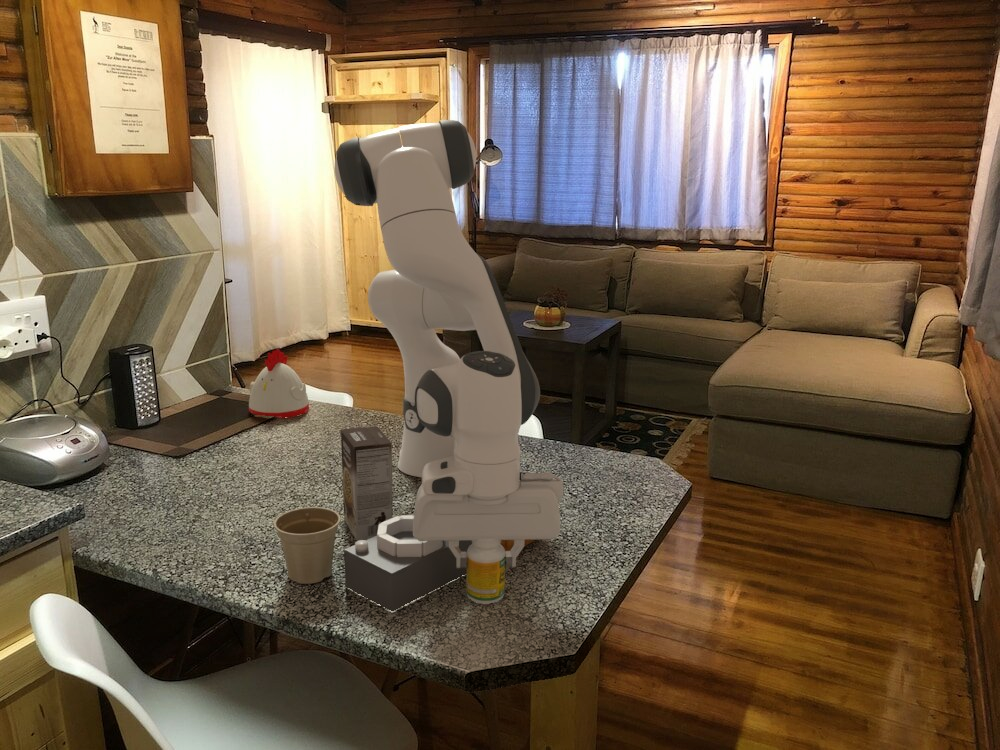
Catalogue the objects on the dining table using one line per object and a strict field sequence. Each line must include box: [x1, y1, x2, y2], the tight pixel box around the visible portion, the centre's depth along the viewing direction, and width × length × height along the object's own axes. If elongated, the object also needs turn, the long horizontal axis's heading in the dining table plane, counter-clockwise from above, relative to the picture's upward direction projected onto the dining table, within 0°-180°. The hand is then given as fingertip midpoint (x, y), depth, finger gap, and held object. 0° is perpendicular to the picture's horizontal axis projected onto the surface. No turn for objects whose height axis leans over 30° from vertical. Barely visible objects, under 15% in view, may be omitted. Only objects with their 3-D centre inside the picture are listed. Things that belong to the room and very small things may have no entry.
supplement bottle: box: [466, 539, 506, 605], centre depth 113 cm, size 5×5×10 cm
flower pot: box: [273, 506, 342, 585], centre depth 118 cm, size 9×9×9 cm
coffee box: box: [340, 425, 393, 542], centre depth 133 cm, size 9×6×16 cm
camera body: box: [343, 514, 472, 611], centre depth 117 cm, size 16×10×8 cm, turn 139°
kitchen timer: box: [248, 348, 310, 418], centre depth 193 cm, size 14×14×15 cm
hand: (485, 565), depth 113 cm, fingers closed on supplement bottle, 5 cm apart
